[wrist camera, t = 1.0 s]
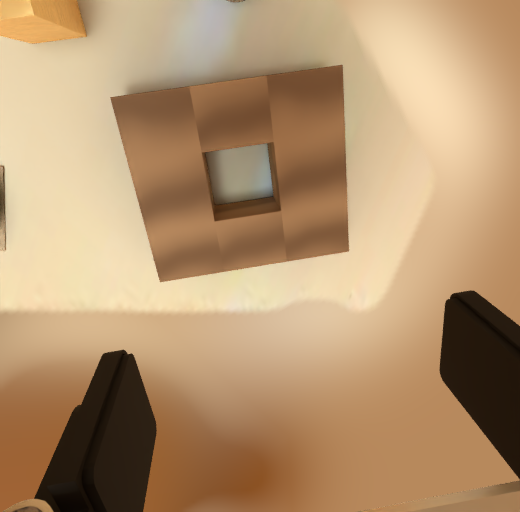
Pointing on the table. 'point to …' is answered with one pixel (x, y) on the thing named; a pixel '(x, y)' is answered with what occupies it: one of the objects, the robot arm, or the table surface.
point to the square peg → (40, 20)
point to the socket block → (232, 136)
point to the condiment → (2, 212)
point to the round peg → (235, 0)
